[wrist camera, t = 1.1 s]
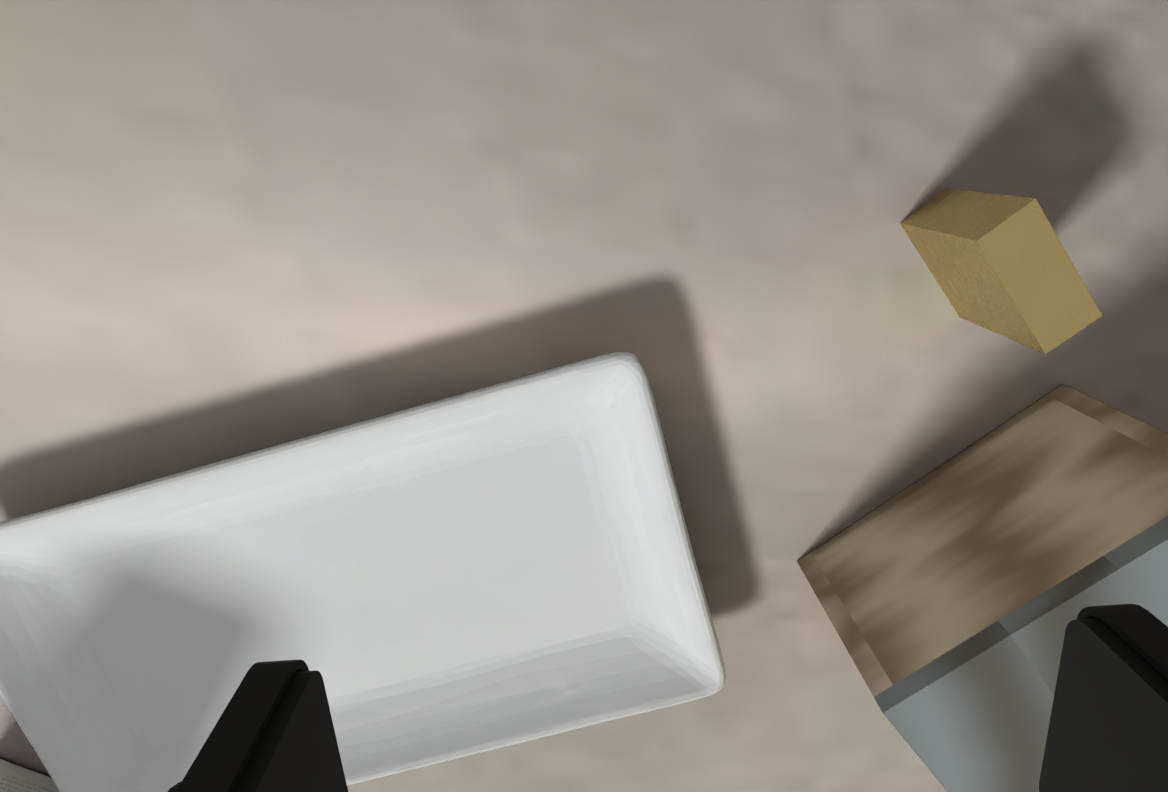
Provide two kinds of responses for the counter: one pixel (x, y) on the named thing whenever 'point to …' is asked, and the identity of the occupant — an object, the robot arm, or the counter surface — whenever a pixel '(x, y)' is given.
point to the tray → (369, 586)
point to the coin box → (998, 581)
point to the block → (1002, 266)
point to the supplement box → (23, 779)
